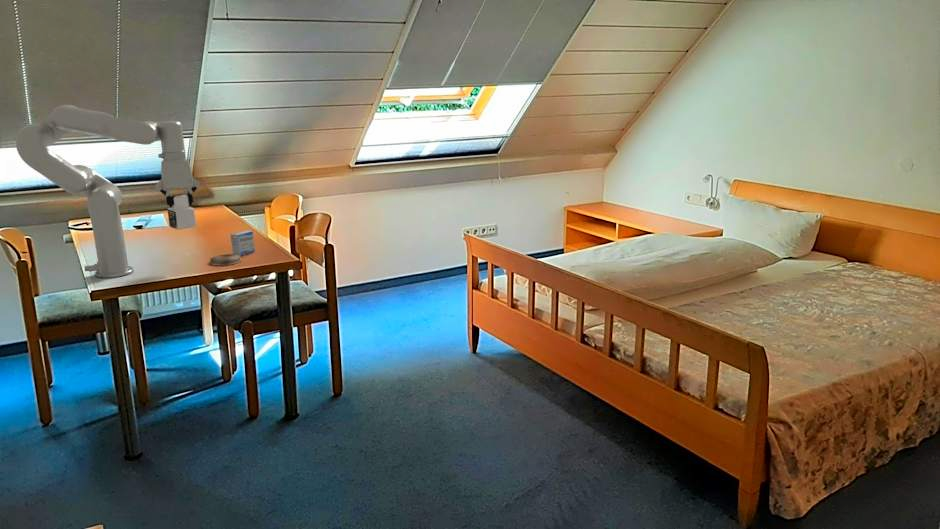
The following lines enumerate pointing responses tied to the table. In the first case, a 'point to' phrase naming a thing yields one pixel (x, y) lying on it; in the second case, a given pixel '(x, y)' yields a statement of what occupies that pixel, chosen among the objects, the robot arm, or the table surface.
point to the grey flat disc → (225, 259)
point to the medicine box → (242, 242)
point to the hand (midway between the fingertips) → (180, 205)
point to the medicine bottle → (181, 213)
